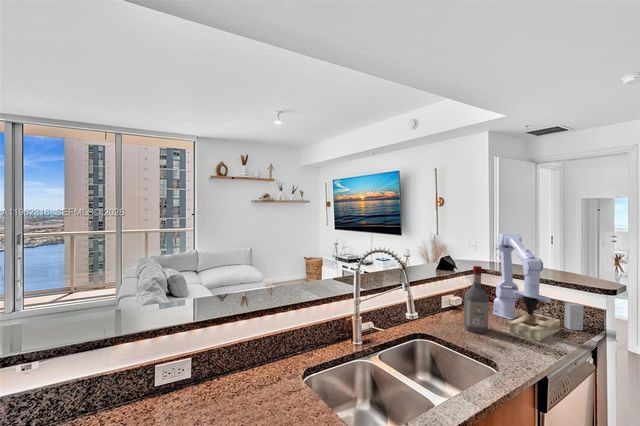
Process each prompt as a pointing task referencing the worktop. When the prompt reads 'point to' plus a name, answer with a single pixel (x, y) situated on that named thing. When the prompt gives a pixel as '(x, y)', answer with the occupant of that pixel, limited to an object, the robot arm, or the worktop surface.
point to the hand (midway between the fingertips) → (530, 314)
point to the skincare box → (573, 316)
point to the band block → (535, 328)
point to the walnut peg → (530, 319)
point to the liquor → (476, 305)
